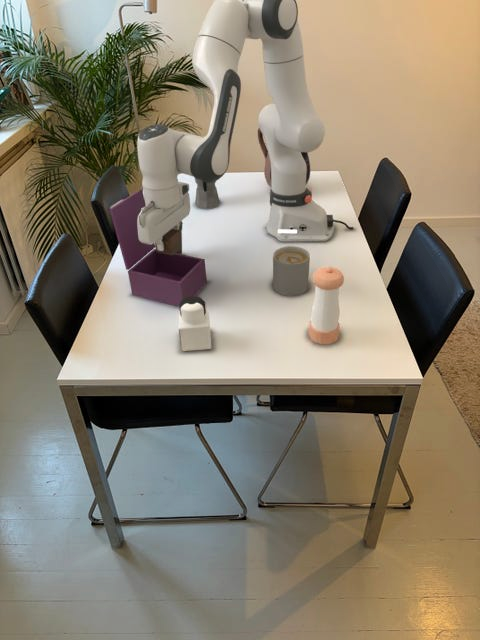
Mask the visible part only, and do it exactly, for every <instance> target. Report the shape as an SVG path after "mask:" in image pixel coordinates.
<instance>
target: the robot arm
mask: <svg viewBox="0 0 480 640" xmlns="http://www.w3.org/2000/svg"><path fill="white" fill-rule="evenodd" d="M298 17H299V7H298V3H297V0H213V2H212V4H211V5H210V7H209V9H208V12H207V13H206V16H205V17H204V20H203V21H202V24H201V27H200V29H199V33H198V35H197V38H196V41H195V44H194V47H193V51H192V57H191V65H192V69H193V71H194V73H195V75H196V77H197V78H198V79H199V80H200V81H201V82H202V84H204V85H205V86H207V88H209V89H210V91H211V92H212V94H213V99H214V100H213V106H212V107H213V108H212V113H211V117H210V122H209V127H208V131H207V134H206V135H204V136H201V135H200V136H199V135H196V134H193V133H189V132H185V131H180V130H175V129H172V128H171V127H169V126H167V124H163V123H156V124H151V125H148V126H146V127H144V128H142V129H141V130H140V131H139V133H138V136H137V141H136V144H137V145H136V146H137V148H136V149H137V159H138V166H139V170H140V171H141V176H142V181H141V186H142V191H143V195H144V200H145V204H146V206H145V207H143V208H142V209H141V212H140V214H139V215H138V219H137V227H138V238H139V241H140V242H141V243H144V244H149V245H152V244H153V243H156V244H157V249H158V250H159V251H163V250H164V249H165V248H166V245H165V243H163V242H162V239H163V237H162V236H163V235H164V234H166V233H167V232H168V231H169V230H171V229H176V230H179V226H180V224H179V222H180V221H182V222H183V220H184V219H186V218H187V217H188V216H189V215H190V213H191V198H190V193H189V192H190V184H189V183H187V182H183V181H179V179H178V176H179V175H181V174H183V175H187V176H190V177H193V178H194V177H195V178H197V179H199V180H201V181H203V182H206V183H213V182H215V181H216V182H217V181H218V180H220V179H221V178H222V177H223V176H224V175H225V174H226V172H227V171H228V168H229V166H230V165H229V164H230V158H231V157H230V156H231V155H230V154H231V144H232V137H233V133H234V128H235V123H236V118H237V114H238V109H239V103H240V98H241V91H242V82H241V78H240V76H239V73H238V68H239V63H240V58H241V57H242V53H243V49H244V46H245V41H246V40H247V39H248V40H260V41H261V42H262V43H261V46H262V59H263V60H262V61H263V68H264V76H265V84H266V85H265V86H266V91H267V93H268V95H269V96H270V98H271V99H272V101H273V103H269V104H267V105H265V106H264V107H263V108H262V109H261V110H260V112H259V113H258V114H259V115H258V118H257V126H258V129H260V130H261V132H262V134H263V139H264V142H265V145H266V148H267V150H268V153H269V157H270V162H271V188H270V189H269V206H270V211H269V217H268V222H267V225H266V231H267V233H268V234H269V235H271V236H273V237H275V238H276V239H277V240H278V241H280V242H283V243H286V242H287V243H288V242H290V243H291V242H292V243H293V242H295V243H298V242H299V243H300V242H301V243H302V242H303V243H304V242H307V243H308V242H313V243H314V242H316V243H317V242H319V243H320V242H322V243H323V242H324V243H325V242H327V241H329V240H330V239H331V238H332V237H333V234H334V231H335V230H334V229H335V227H334V223H337V224H341V225H344V227H345V228H346V229H347V230H354V227H353V226H349V225H348V224H347V223H346V222H344V221H341V220H337V219H334V216H333V214H327V211H326V210H325V208H323V206H320V204H318V203H316V201H314V200H313V192H312V191H313V189H312V188H310V189H308V188H307V184H306V172H307V166H306V162H305V160H304V159H303V157H302V155H301V152H308V153H313V152H315V151H316V150H318V149H319V147H320V146H321V145H322V143H323V141H324V139H325V134H326V133H325V132H326V131H325V130H326V129H325V126H324V123H323V122H322V121H321V119H320V117H319V115H317V112H316V109H315V108H314V105H313V102H312V99H311V95H310V93H309V89H308V86H307V80H306V79H307V78H306V68H305V55H304V45H303V39H302V33H301V27H300V24H299V20H298ZM195 178H194V179H195ZM216 182H215V183H216Z"/></svg>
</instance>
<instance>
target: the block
mask: <svg viewBox="0 0 480 640" xmlns="http://www.w3.org/2000/svg"><path fill="white" fill-rule="evenodd" d="M162 237H163V239H162V242H163V243H165V245H166V248H165V249H164V250H163V251H159V250H158V249H157V244H156V243H155V249H156V252H158V253H163V254H168V255H173V254H174V253H176V252H177V251H178V250H179V249H180V248H181V247H182V248H183V244H182V245H181V236H180V230H176V229H171V230H169V231H168V232H167V233H166V234H164V235H163V236H162Z"/></svg>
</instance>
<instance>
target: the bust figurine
mask: <svg viewBox="0 0 480 640" xmlns="http://www.w3.org/2000/svg"><path fill="white" fill-rule="evenodd" d="M178 334H179V340H180V347H181V348H180V349H181V352H188V351H191V352H192V351H203V350H211V349H212V336H211V324H210V312H209V309H208V308H206V301H205V299H203V298H202V297H201V296H197V295H195V296H190V297H186V298H184V299H183V300H182V301H181V302H180V303H179V311H178Z"/></svg>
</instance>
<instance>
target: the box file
mask: <svg viewBox="0 0 480 640" xmlns="http://www.w3.org/2000/svg"><path fill="white" fill-rule="evenodd" d="M206 268H207V265H206V259H205V258H203V257H198V256H192V255H187V254H183V253H182V254H178V253H174V254H173V255H168V254H163V253H158V252H156V248H154V249H153V250H152V251H150V252H149V253H148V254H147V255H146V256H144V257H143V258H142V259H141V260H140V261H138V262H137V263H136V264H135V265H134V266H133V267H131V268H130V269H129V270H127V275H128V280H129V285H130V291H131V295H132V296H134V297H138V298H142V299H146V300H150V301H155V302H159V303H163V304H167V305H171V306H175V307H179V303H180V302H181V301H182V300H183V299H184V298H186V297H190V296H197V294H198V293H199V292H200V291H201V290H202V289H203V288H204V286H206V285H207V284H208V277H207V269H206Z"/></svg>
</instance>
